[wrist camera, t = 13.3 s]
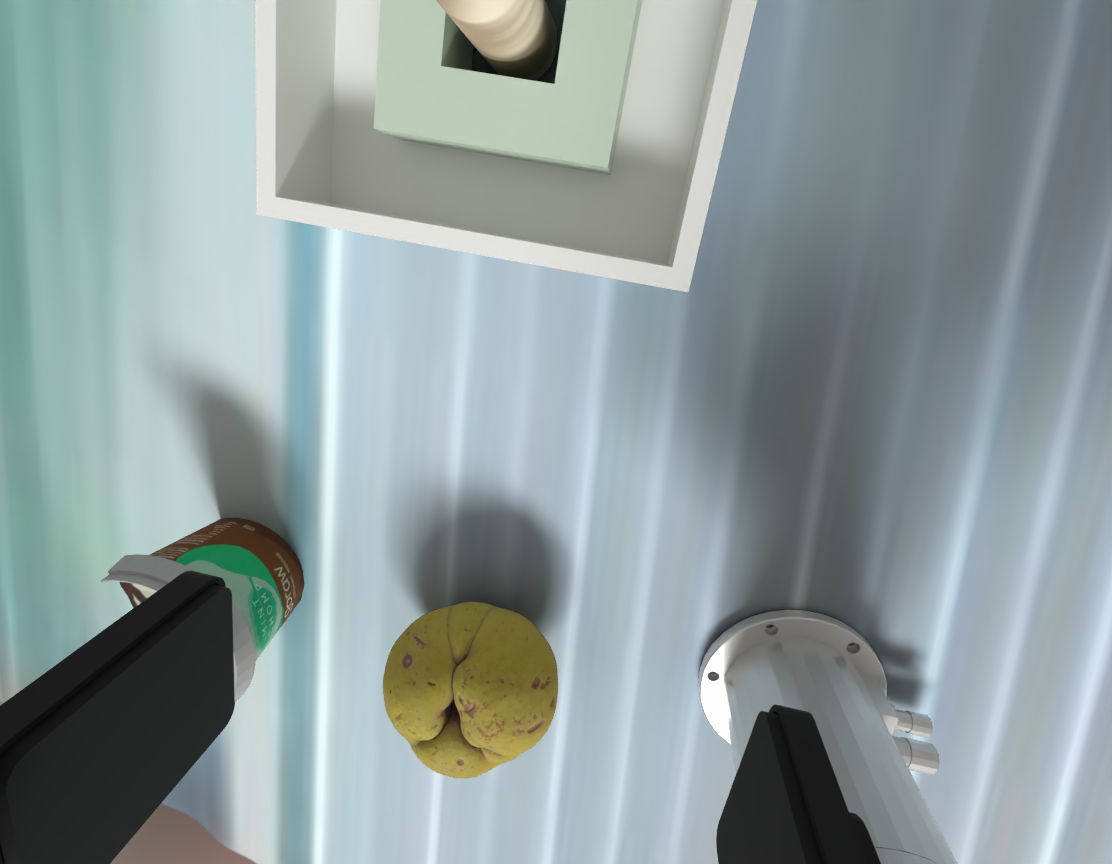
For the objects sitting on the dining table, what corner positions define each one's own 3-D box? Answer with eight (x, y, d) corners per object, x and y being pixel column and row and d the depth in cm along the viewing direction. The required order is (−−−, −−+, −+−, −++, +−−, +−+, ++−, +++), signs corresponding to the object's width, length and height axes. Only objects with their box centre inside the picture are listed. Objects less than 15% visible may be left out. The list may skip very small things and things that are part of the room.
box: (787, -195, 27) (836, -334, 21) (678, 282, 34) (688, 292, 28) (340, -248, 29) (252, -393, 22) (326, 219, 36) (256, 214, 29)
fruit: (547, 713, 46) (523, 835, 36) (405, 671, 46) (346, 781, 37) (581, 597, 42) (565, 700, 33) (426, 554, 43) (366, 643, 33)
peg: (562, 3, 31) (531, -100, 21) (551, 88, 32) (516, 26, 23) (489, -7, 31) (426, -114, 22) (480, 77, 32) (417, 12, 23)
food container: (341, 628, 46) (265, 729, 36) (273, 638, 47) (183, 737, 38) (283, 487, 42) (183, 558, 33) (212, 501, 44) (96, 573, 34)
